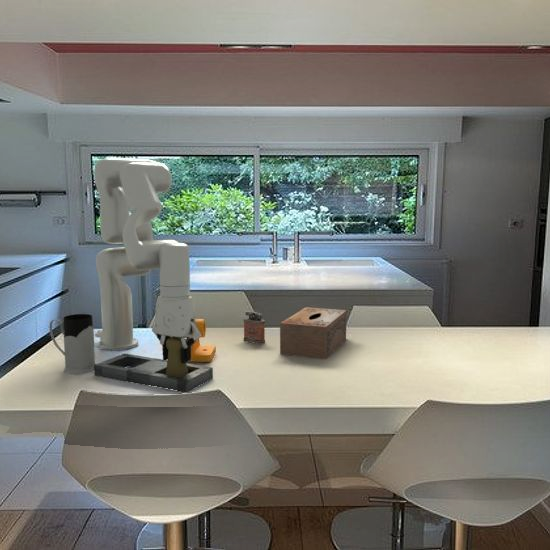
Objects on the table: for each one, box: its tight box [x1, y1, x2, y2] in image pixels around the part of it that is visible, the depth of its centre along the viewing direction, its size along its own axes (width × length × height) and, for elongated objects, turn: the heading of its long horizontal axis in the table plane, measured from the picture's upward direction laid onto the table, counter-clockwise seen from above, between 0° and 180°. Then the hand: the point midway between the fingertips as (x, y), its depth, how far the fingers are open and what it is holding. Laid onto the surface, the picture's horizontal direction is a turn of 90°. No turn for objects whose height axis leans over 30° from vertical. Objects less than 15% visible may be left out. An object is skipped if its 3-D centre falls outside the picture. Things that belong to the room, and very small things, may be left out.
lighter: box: [242, 310, 266, 344], centre depth 182 cm, size 8×3×10 cm, turn 58°
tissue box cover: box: [279, 306, 347, 360], centre depth 177 cm, size 26×14×10 cm, turn 159°
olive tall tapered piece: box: [166, 337, 188, 377], centre depth 142 cm, size 6×6×11 cm
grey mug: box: [49, 313, 96, 376], centre depth 153 cm, size 9×14×15 cm, turn 70°
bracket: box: [186, 318, 217, 363], centre depth 163 cm, size 11×7×12 cm, turn 177°
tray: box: [93, 353, 214, 393], centre depth 146 cm, size 30×12×3 cm, turn 64°
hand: (176, 359), depth 142 cm, fingers closed on olive tall tapered piece, 5 cm apart
